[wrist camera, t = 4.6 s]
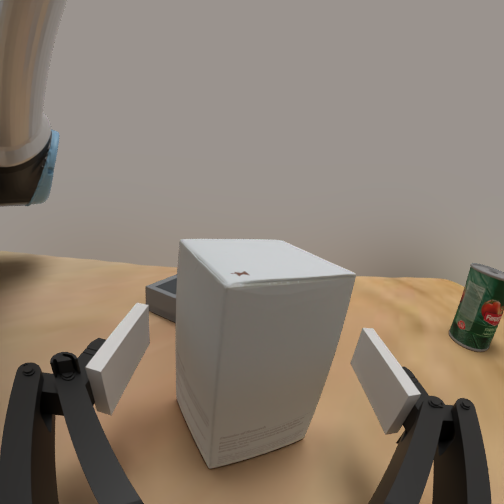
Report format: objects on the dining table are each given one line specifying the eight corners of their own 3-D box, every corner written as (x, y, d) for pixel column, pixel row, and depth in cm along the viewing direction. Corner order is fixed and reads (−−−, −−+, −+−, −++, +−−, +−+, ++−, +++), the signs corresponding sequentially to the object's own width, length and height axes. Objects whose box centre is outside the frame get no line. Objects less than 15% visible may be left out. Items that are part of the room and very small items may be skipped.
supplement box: (306, 439, 16) (363, 273, 13) (206, 471, 13) (221, 283, 10) (258, 381, 23) (283, 237, 20) (174, 396, 19) (176, 235, 16)
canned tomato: (484, 357, 26) (513, 282, 24) (442, 337, 32) (466, 264, 30) (491, 341, 31) (514, 276, 28) (455, 324, 37) (475, 261, 34)
